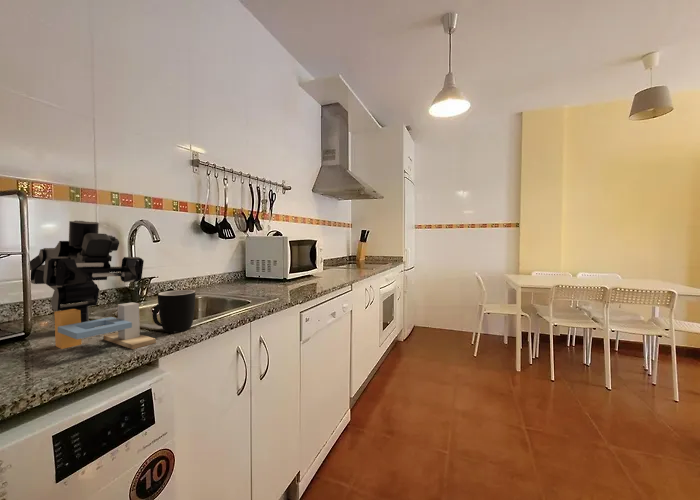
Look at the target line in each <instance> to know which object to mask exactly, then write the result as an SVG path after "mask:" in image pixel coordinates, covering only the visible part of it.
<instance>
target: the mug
mask: <svg viewBox="0 0 700 500" xmlns="http://www.w3.org/2000/svg"><path fill="white" fill-rule="evenodd" d="M195 309H196V291H195V290H192V289H177V290H168V291H161V292H158V294H157V304H156V305H155V307H154V309H153V312H152V319H153V323H154V324H155V325H156V326H158V327H161V329H162V330H163V331H164V332H165V333H181V332H185V331H188V330H190V329H191V328H192V325H193V322H194V317H195V311H196V310H195ZM158 312H159V313H158ZM158 315H159V319H158ZM159 320H160V321H159Z"/></svg>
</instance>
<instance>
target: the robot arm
mask: <svg viewBox="0 0 700 500" xmlns="http://www.w3.org/2000/svg"><path fill="white" fill-rule="evenodd" d="M99 225H100V223H99V222H97V221H85V220H71V221H69V225H68V226H69V227H68V240H59V241H58V243H57V245H56V246H55V247H43V248H41V249H39V252H38V255H37V256H35V257H33V258H32V259H31V260H30V261H29V262H30V270H31V281H30V283H31V284H32V285H47V287H48V286H49V288H51V289H52V290H53V293H52V296H51V300H50V305H51V306H50V307H51V310H54V311H55V312H56V311H63V310H70V309H77V310H81V322H86V321H90V319H89V318H90V314H89V312H90V310H89V308H90V307H91V306H92V307H93V306H94V307H95V306H97V305H98V301H99V292H100V288H99V286H98V285H97V283H96V282H95V281H107V280H108V278H109V277H120V280H121V281H122V282H123V283H136V282H140V281H141V280H142V278H143V269H144V259H143V258H142V257H139V256H123V258H122V259H121V265H120V266H111V264H110V262H112V258H113V256H112V255H110V254H111V253H112V252H116V251H118V250H119V247H120V240H119V239H118V238H117V237H116V236H113V235H111V234H110V235H109V234H107V233H99ZM93 328H95V327H93ZM88 329H90V328H88Z"/></svg>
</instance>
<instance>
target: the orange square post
mask: <svg viewBox="0 0 700 500" xmlns="http://www.w3.org/2000/svg"><path fill="white" fill-rule="evenodd" d="M75 323H81V310H77V309H70V310H63V311H61V310H60V311H56V310H55V311H54V335H55V336H54V337H55V347H57V348H59V349H61V350H64V349H68V348H71V347H77V346H80V345H82V344H83V343H82V338H81V339H74V338H72V337H69V336H67V335H64V334H61V333H59V332H58V327H59V326H64V325H70V324H75Z"/></svg>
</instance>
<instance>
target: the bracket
mask: <svg viewBox="0 0 700 500" xmlns="http://www.w3.org/2000/svg"><path fill="white" fill-rule="evenodd" d="M93 327H95V328H93ZM88 328H90V329H88ZM140 331H141V329H140V303H138V302H127V303H119V304H117V318H116V317H113V316H109V317H103V318H99V319H92V320H89V321H86V322H81V323H75V324H70V325H64V326H59V327H58V332H59V333H61V334H64V335H67V336H69V337H72V338H74V339H81V340H82V339H85V338H89V337H94V336H99V335H105V334H110V333H115V332H118V338H121V339H124V340H127V339H131V338H135V337H139V336H140Z"/></svg>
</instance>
